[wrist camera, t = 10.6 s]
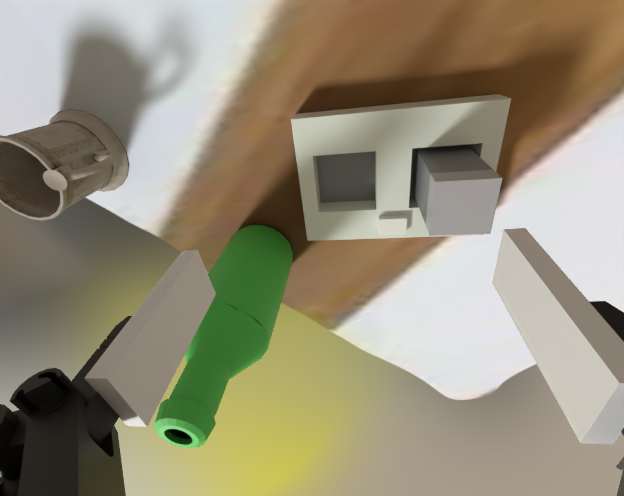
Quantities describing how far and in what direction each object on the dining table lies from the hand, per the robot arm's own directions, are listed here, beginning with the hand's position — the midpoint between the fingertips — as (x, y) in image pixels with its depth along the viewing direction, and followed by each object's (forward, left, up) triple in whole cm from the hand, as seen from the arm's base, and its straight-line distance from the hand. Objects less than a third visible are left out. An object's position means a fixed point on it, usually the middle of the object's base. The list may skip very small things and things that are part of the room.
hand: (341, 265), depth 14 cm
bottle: (+14, -13, -24) cm, 31 cm away
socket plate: (+4, +4, -24) cm, 25 cm away
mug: (-1, -30, -24) cm, 38 cm away
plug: (+4, +9, -24) cm, 26 cm away
